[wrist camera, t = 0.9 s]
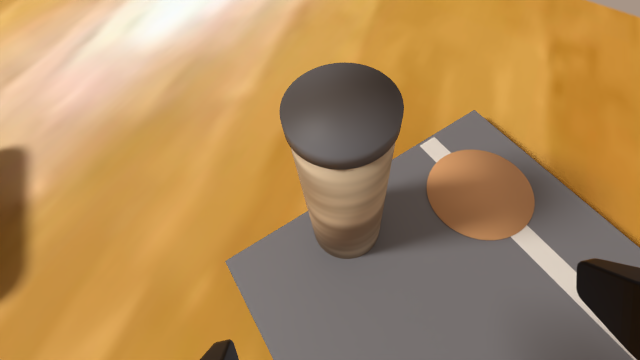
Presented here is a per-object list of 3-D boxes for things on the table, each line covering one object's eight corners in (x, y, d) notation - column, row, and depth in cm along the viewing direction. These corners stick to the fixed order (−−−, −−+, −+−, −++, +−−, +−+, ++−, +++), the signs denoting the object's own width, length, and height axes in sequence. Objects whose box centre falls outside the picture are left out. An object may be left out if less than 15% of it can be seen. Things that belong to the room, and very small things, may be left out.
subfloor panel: (710, 331, 20) (737, 327, 18) (408, 621, 15) (413, 646, 14) (468, 122, 28) (474, 109, 27) (232, 267, 24) (224, 260, 22)
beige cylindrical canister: (394, 235, 22) (430, 116, 12) (336, 274, 22) (321, 180, 11) (354, 185, 25) (355, 47, 14) (300, 218, 24) (258, 96, 13)
